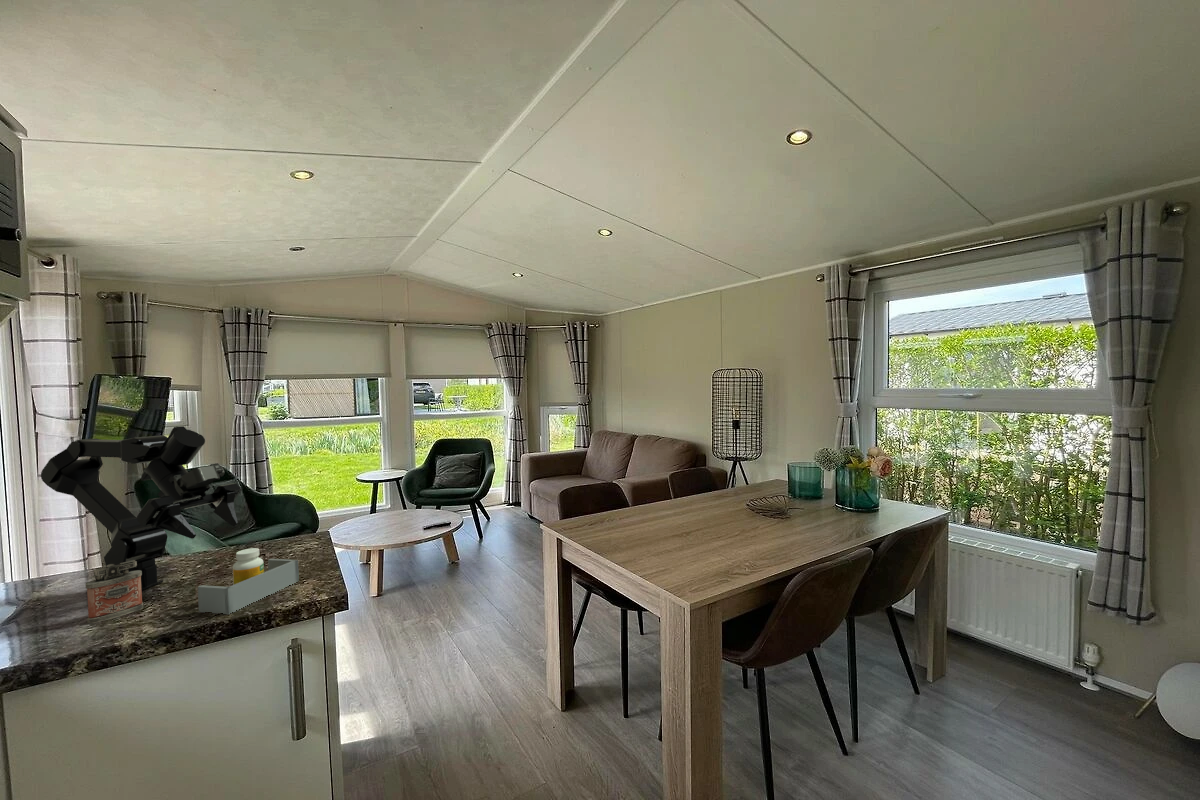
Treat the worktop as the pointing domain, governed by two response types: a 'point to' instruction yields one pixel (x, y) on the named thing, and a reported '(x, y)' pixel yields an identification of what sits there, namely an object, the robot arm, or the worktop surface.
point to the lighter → (114, 592)
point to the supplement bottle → (247, 565)
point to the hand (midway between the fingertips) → (216, 530)
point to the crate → (248, 588)
